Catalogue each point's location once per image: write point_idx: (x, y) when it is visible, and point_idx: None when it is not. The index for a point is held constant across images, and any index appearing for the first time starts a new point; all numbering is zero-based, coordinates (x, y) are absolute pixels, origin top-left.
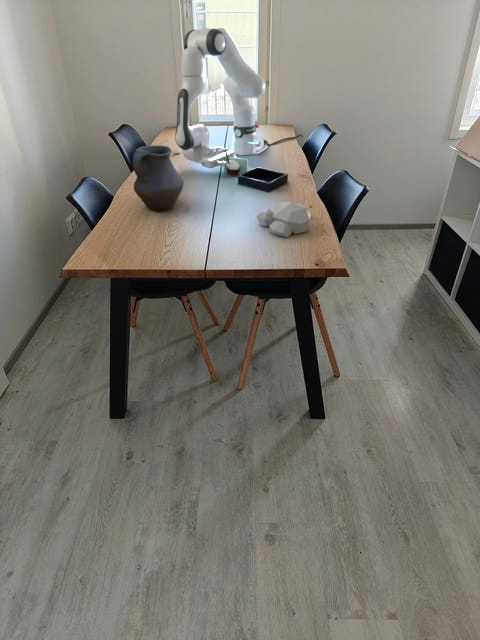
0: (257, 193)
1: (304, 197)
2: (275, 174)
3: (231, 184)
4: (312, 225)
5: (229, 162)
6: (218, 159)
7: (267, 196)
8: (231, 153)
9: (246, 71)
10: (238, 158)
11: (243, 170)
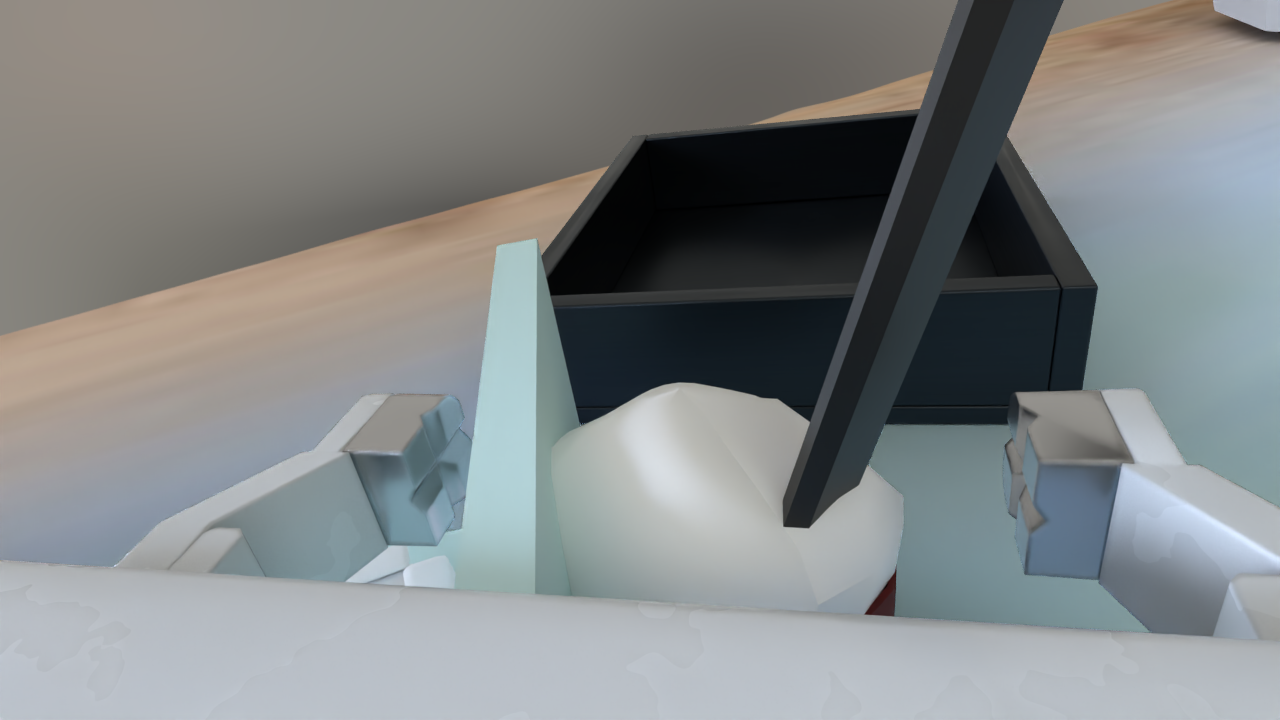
0: (1100, 218)
1: (869, 112)
2: (621, 210)
3: None
4: (1188, 20)
5: (757, 493)
6: (1180, 657)
7: (1074, 172)
8: (93, 569)
9: None
10: (515, 336)
11: None
